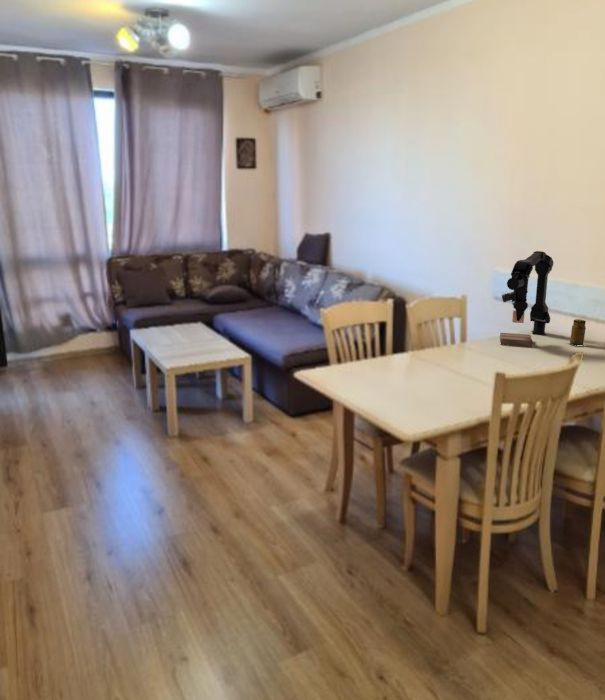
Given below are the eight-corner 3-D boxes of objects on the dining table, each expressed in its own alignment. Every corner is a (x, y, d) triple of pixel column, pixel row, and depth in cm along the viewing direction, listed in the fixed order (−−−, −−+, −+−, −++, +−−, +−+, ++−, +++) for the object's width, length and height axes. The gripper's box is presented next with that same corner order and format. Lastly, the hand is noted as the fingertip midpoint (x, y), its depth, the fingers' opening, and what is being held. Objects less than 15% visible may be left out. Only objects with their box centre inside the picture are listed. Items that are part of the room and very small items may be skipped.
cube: (511, 320, 294) (512, 310, 293) (522, 321, 293) (523, 310, 292) (512, 322, 290) (513, 312, 288) (523, 323, 288) (524, 312, 287)
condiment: (578, 342, 297) (581, 318, 294) (589, 346, 289) (593, 322, 286) (565, 343, 295) (568, 319, 292) (576, 347, 287) (579, 322, 284)
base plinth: (499, 338, 302) (500, 332, 301) (529, 340, 299) (529, 334, 298) (500, 344, 289) (501, 338, 288) (531, 347, 286) (532, 341, 285)
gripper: (502, 284, 298) (499, 314, 302) (504, 289, 280) (501, 322, 284) (526, 285, 295) (523, 316, 299) (529, 290, 278) (525, 323, 282)
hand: (517, 319), depth 291 cm, fingers closed on cube, 5 cm apart
